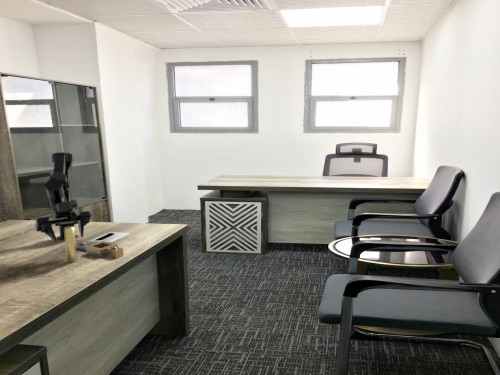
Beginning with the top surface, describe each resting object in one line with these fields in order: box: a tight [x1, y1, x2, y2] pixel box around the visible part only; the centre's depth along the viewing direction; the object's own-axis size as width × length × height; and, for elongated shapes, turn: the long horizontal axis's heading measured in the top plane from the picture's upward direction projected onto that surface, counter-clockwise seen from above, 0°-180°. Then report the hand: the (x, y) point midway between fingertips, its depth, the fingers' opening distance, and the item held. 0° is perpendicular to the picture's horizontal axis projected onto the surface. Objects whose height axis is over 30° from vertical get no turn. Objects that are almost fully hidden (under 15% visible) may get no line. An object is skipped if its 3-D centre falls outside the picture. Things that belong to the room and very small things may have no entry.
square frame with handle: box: [76, 240, 124, 259], centre depth 149 cm, size 24×8×3 cm, turn 60°
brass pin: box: [64, 225, 78, 264], centre depth 138 cm, size 4×4×13 cm
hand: (69, 239), depth 138 cm, fingers open, 9 cm apart
